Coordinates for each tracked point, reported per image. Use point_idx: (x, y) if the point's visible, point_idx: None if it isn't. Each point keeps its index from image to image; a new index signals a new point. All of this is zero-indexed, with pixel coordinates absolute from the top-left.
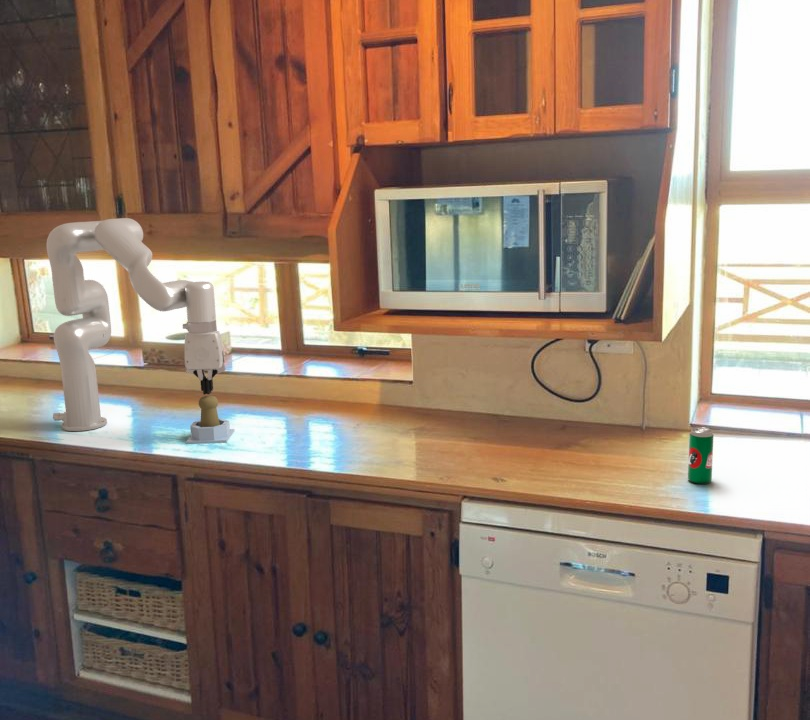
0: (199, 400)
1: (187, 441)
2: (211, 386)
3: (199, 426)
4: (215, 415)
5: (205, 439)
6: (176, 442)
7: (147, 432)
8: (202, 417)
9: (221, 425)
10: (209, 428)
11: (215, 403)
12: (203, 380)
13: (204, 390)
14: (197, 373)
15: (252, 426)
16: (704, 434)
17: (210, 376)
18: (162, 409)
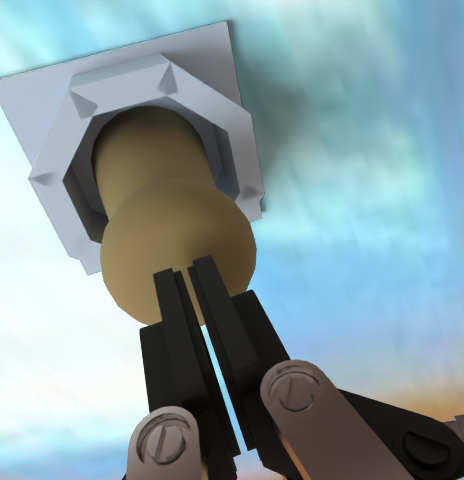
0: (242, 225)
1: (219, 23)
2: (145, 355)
3: (228, 189)
4: (110, 204)
5: (124, 62)
6: (285, 39)
7: (451, 169)
8: (189, 160)
9: (50, 157)
10: (96, 82)
11: (101, 247)
12: (243, 369)
13: (204, 280)
14: (381, 440)
15: (48, 344)
16: None
17: (149, 470)
18: (448, 384)
